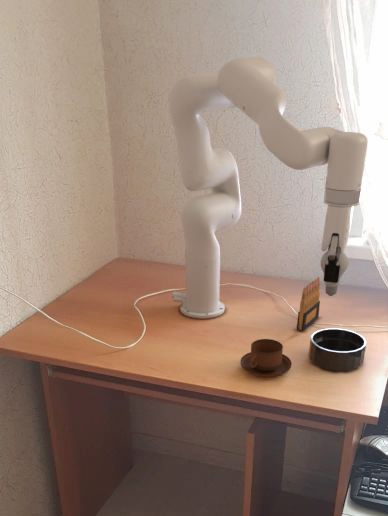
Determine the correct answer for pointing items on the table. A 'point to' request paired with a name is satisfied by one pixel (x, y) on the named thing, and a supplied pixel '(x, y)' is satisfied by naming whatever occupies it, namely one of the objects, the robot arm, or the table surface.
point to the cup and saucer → (266, 359)
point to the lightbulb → (332, 287)
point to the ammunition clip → (309, 305)
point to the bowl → (337, 349)
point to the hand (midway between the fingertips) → (332, 275)
